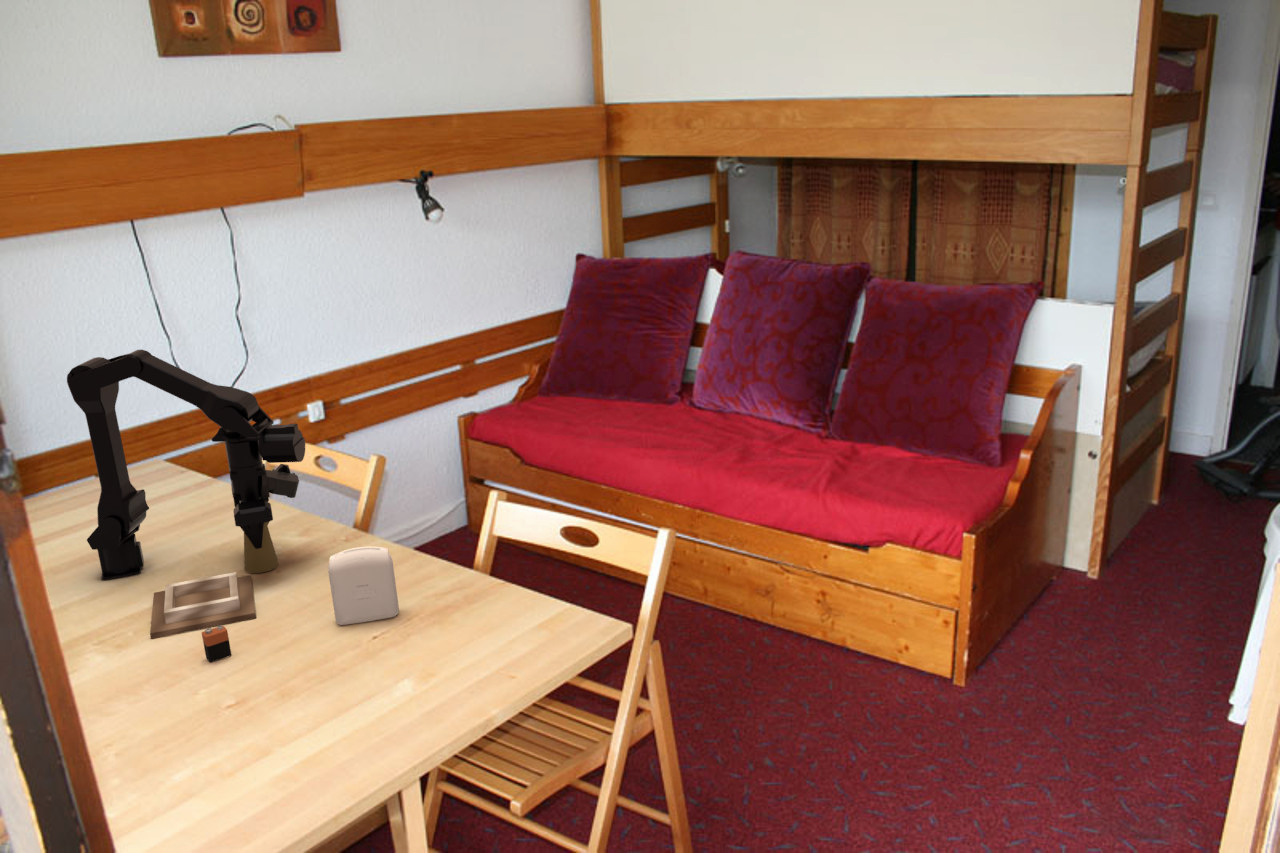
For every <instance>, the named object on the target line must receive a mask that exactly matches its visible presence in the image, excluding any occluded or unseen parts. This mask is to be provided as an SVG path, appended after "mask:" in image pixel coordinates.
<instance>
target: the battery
mask: <svg viewBox="0 0 1280 853" xmlns="http://www.w3.org/2000/svg"><path fill="white" fill-rule="evenodd" d="M201 637H202V643H203V649H204V655H205V658H206V660H207V661H208V662H209V663H213V662H217V661H219V660H223V659H225V658H228V657H231V656H232V651H231V644H230V639H229V638H230V637H229V633H228V629H227V628H226V627H225V626H224V625H219V626H215V627H209V628H205V629H204V631H202V632H201Z"/></svg>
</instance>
